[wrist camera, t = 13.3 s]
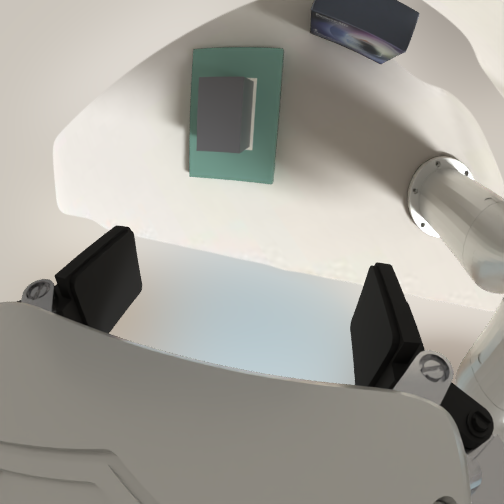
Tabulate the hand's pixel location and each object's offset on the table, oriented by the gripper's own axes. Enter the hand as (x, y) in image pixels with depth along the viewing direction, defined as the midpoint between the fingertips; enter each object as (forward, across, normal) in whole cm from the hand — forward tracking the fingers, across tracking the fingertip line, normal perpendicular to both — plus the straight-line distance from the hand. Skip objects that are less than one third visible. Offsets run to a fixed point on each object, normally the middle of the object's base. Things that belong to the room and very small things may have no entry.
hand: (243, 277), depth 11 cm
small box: (+31, -7, -19) cm, 37 cm away
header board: (+30, +8, -5) cm, 32 cm away
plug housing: (+29, +8, -5) cm, 30 cm away
